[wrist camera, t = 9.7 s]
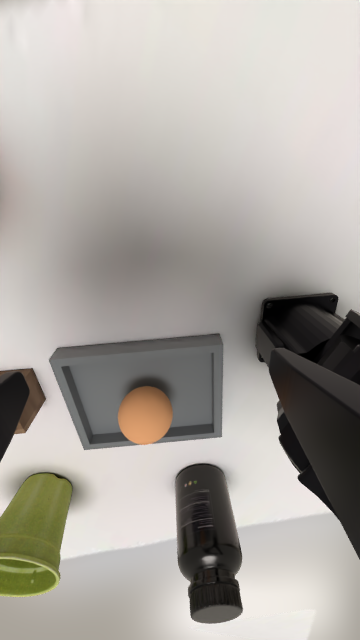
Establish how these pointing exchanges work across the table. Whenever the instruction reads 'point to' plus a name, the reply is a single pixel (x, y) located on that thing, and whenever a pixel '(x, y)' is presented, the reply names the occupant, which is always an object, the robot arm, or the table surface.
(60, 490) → the plant pot
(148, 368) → the tray
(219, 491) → the supplement bottle
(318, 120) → the table surface
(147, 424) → the ball
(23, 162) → the table surface
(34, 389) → the brown wooden open cube
